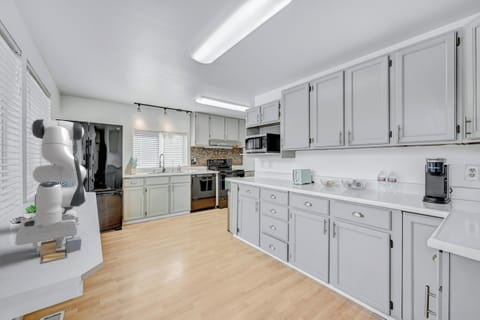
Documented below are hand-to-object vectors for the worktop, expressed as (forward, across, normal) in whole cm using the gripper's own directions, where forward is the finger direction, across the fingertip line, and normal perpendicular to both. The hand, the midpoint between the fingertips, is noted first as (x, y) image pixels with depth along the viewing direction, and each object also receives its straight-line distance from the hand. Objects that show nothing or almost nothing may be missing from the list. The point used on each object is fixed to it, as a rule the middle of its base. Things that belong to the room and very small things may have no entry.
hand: (48, 249), depth 93 cm
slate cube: (+2, -8, +2) cm, 9 cm away
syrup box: (+2, -5, -8) cm, 10 cm away
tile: (+2, -2, +7) cm, 7 cm away
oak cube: (+2, 0, 0) cm, 2 cm away
